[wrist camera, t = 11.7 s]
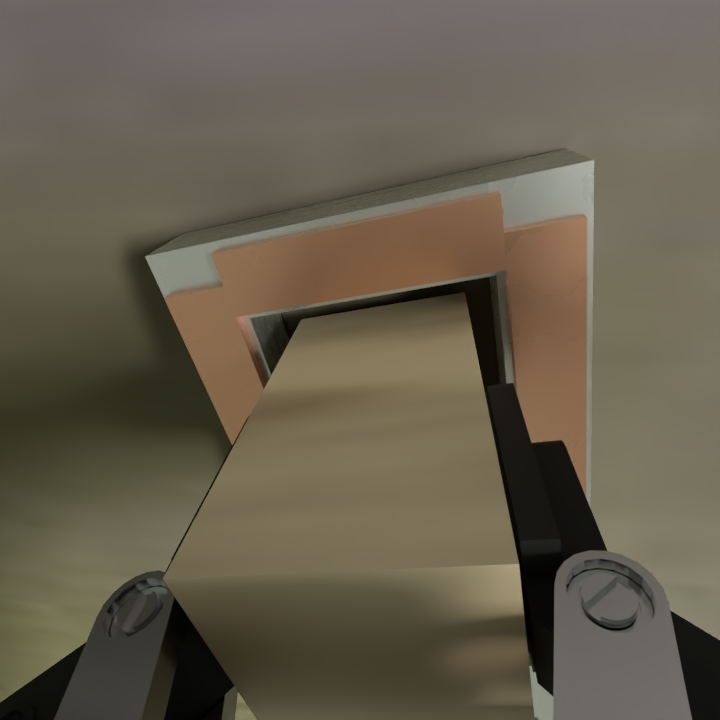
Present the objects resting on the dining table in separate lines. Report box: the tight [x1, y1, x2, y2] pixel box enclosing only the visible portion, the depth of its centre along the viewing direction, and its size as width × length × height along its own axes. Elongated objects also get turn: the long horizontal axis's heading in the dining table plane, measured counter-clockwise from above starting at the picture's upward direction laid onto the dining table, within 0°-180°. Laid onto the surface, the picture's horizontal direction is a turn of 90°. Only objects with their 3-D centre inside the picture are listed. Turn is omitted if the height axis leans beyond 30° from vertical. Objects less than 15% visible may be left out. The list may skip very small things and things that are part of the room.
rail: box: [145, 149, 594, 720], centre depth 18 cm, size 30×10×2 cm, turn 13°
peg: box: [163, 292, 535, 720], centre depth 10 cm, size 4×4×8 cm
